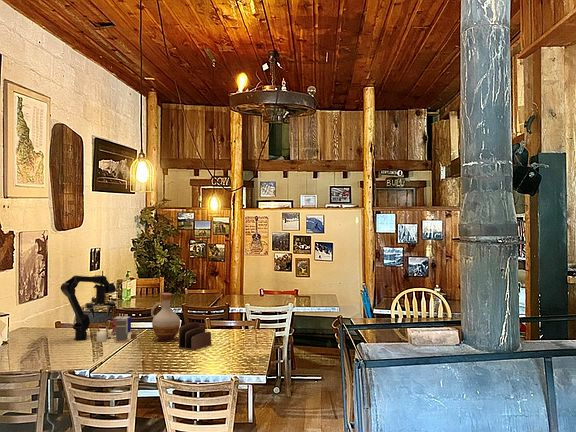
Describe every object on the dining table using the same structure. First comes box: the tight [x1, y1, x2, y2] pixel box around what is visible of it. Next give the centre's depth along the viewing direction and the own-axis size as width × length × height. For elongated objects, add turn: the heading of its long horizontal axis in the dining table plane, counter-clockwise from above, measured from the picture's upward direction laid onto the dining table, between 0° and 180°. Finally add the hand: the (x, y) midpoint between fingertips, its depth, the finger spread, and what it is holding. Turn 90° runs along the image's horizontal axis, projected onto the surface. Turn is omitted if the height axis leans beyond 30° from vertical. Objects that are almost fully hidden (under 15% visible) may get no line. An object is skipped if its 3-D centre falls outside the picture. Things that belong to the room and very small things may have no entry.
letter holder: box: [178, 321, 212, 351], centre depth 343 cm, size 10×20×14 cm, turn 152°
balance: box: [95, 324, 116, 340], centre depth 367 cm, size 15×5×10 cm, turn 122°
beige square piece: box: [96, 330, 107, 343], centre depth 358 cm, size 6×6×6 cm
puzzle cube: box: [111, 316, 132, 334], centre depth 391 cm, size 10×10×10 cm
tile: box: [113, 338, 131, 344], centre depth 359 cm, size 8×8×1 cm
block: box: [130, 332, 138, 340], centre depth 367 cm, size 3×3×3 cm
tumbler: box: [115, 319, 129, 341], centre depth 359 cm, size 6×6×12 cm
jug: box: [150, 292, 181, 342], centre depth 364 cm, size 20×18×30 cm
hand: (100, 317), depth 377 cm, fingers open, 9 cm apart
